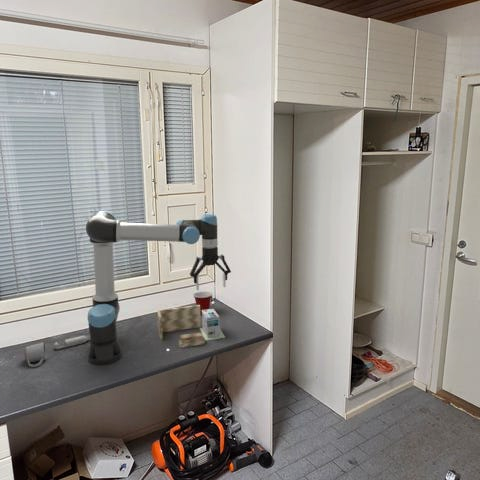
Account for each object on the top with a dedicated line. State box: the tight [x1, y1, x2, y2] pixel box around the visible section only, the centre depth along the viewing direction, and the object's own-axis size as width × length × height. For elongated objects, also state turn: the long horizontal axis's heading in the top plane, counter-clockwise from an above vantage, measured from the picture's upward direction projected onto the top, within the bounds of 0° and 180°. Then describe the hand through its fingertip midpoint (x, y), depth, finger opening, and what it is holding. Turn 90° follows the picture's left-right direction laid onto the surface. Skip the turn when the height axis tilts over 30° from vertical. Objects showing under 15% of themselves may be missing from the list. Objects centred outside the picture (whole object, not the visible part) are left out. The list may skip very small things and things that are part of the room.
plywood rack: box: [156, 304, 202, 341], centre depth 213 cm, size 22×10×12 cm, turn 107°
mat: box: [199, 327, 226, 342], centre depth 214 cm, size 10×14×1 cm
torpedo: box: [53, 334, 90, 350], centre depth 202 cm, size 18×5×7 cm, turn 123°
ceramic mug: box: [23, 341, 47, 368], centre depth 187 cm, size 11×8×8 cm
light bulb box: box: [201, 308, 221, 338], centre depth 212 cm, size 11×7×11 cm, turn 20°
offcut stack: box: [178, 332, 206, 348], centre depth 202 cm, size 12×4×5 cm, turn 107°
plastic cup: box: [192, 290, 213, 316], centre depth 237 cm, size 11×11×12 cm
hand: (210, 287), depth 208 cm, fingers open, 13 cm apart
